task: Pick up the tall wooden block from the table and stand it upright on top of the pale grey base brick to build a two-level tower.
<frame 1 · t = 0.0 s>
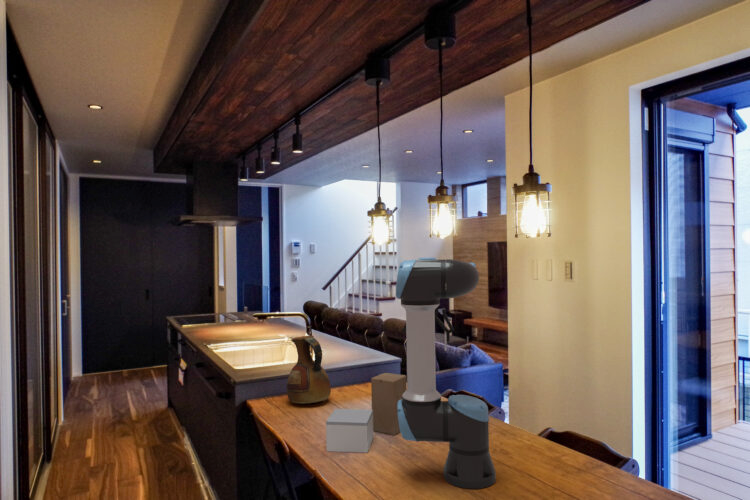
hand: (428, 349, 200), 28 cm above the table, tool pointing down, fingers open, 13 cm apart
wooden block: (389, 429, 191), on the table
base brick: (350, 444, 177), on the table
ceramic pitcher: (309, 402, 228), on the table
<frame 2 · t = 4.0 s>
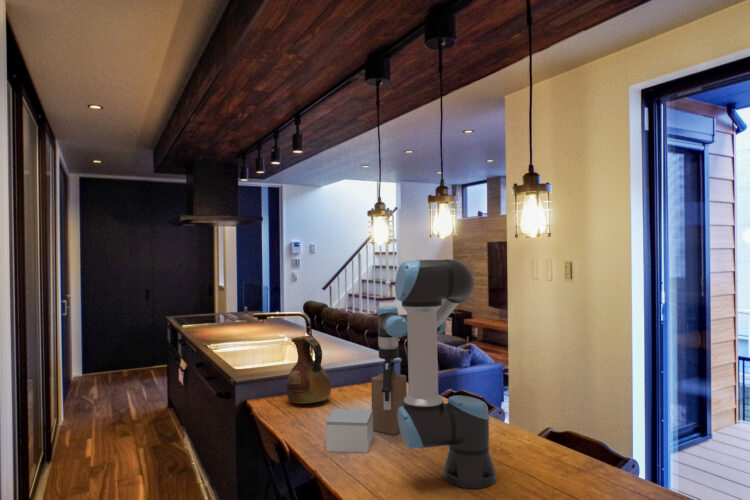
hand: (389, 404, 191), 9 cm above the table, tool pointing down, fingers closed on wooden block, 12 cm apart
wooden block: (389, 429, 191), on the table, touching gripper
everything else where it was.
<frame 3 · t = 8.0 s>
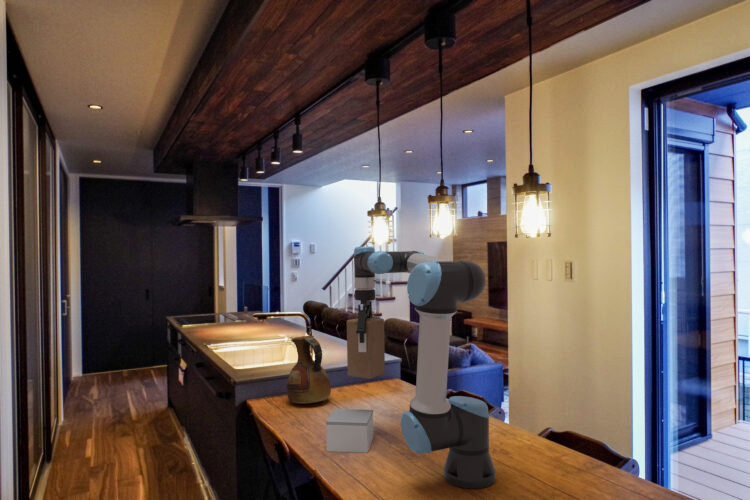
hand: (365, 348, 183), 32 cm above the table, tool pointing down, fingers closed on wooden block, 12 cm apart
wooden block: (366, 375, 183), point 23 cm above the table, touching gripper
everything else where it was.
when the fingers open (21 cm above the table, at t = 11.9 s): wooden block drops 1 cm, resting on base brick.
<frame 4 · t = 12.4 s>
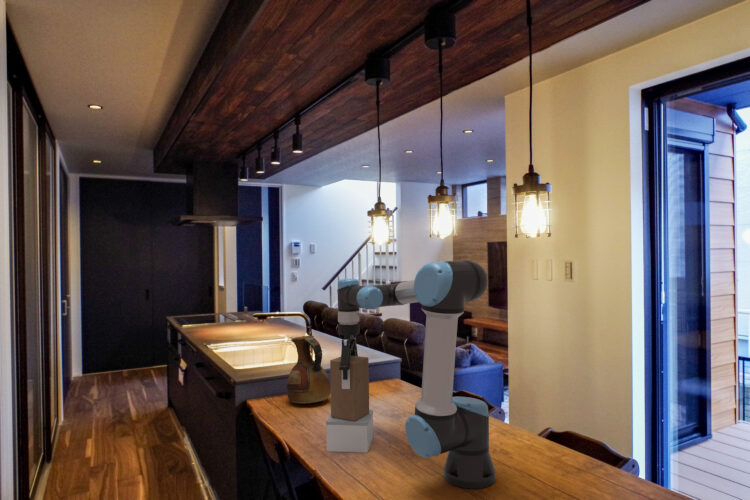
hand: (349, 383, 177), 21 cm above the table, tool pointing down, fingers open, 13 cm apart
wooden block: (350, 416, 177), point 10 cm above the table, touching base brick
everything else where it was.
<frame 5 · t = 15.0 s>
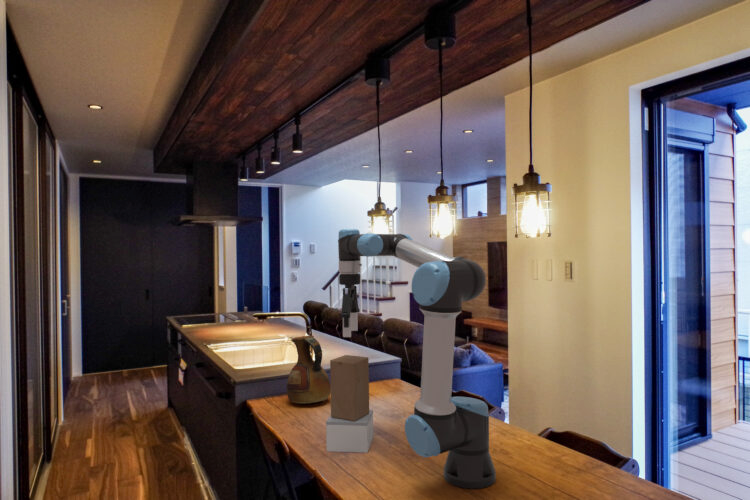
hand: (350, 333, 177), 39 cm above the table, tool pointing down, fingers open, 13 cm apart
nothing on the table moved.
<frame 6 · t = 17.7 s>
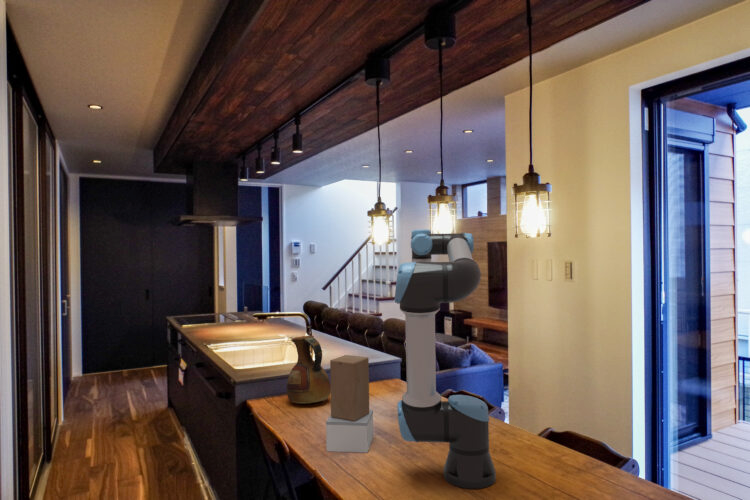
hand: (422, 326, 192), 39 cm above the table, tool pointing down, fingers open, 13 cm apart
nothing on the table moved.
at the end: wooden block 0.0 cm off-centre on the base brick, point 9.8 cm above the base brick's base; wooden block tilted 0°; the gripper is holding nothing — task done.
